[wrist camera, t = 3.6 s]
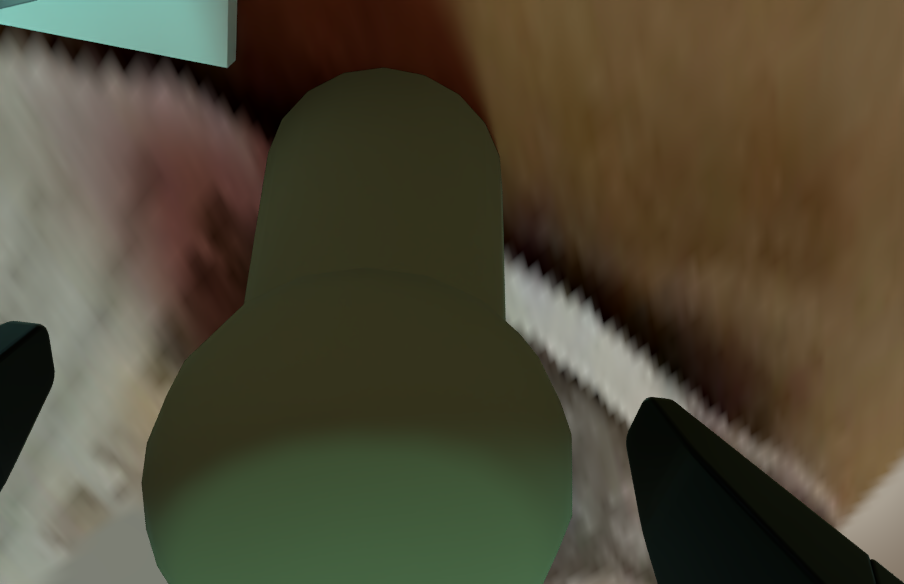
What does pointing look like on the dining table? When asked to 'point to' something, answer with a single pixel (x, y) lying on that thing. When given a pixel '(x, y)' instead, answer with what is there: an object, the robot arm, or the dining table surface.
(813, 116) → the dining table surface
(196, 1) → the socket board
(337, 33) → the dining table surface
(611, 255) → the dining table surface
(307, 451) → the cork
